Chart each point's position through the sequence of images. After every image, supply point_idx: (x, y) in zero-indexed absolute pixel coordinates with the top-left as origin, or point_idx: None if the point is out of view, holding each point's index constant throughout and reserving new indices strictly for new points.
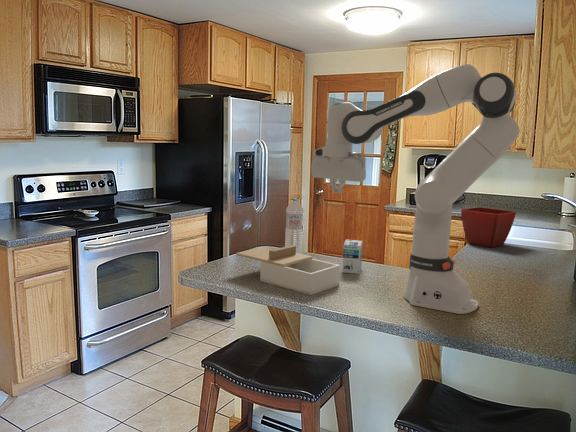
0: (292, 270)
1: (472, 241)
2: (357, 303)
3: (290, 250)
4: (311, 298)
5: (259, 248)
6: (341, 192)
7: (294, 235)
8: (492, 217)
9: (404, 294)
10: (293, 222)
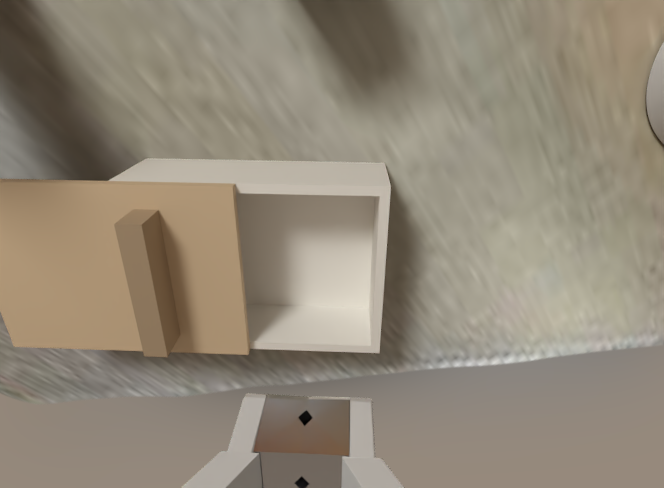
0: (296, 347)
1: None
2: (524, 278)
3: (155, 255)
4: (393, 326)
5: None
6: (370, 407)
7: None
8: None
9: (658, 123)
10: None
